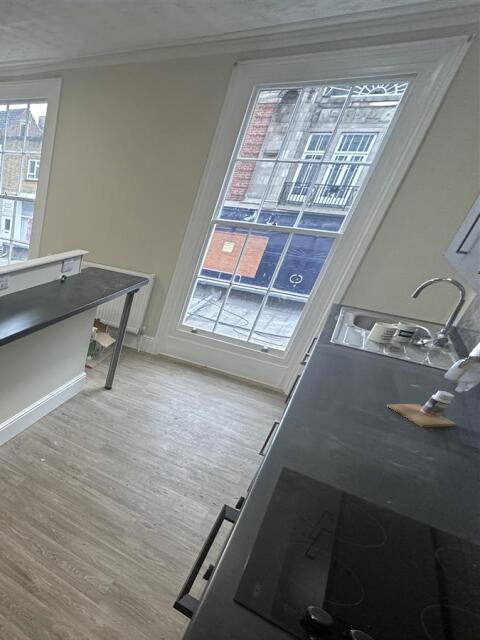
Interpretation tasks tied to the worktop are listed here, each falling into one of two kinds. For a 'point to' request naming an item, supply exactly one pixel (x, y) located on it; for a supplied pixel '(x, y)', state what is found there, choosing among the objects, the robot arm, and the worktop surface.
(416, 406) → the board
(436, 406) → the pill bottle
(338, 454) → the worktop surface
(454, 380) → the robot arm
